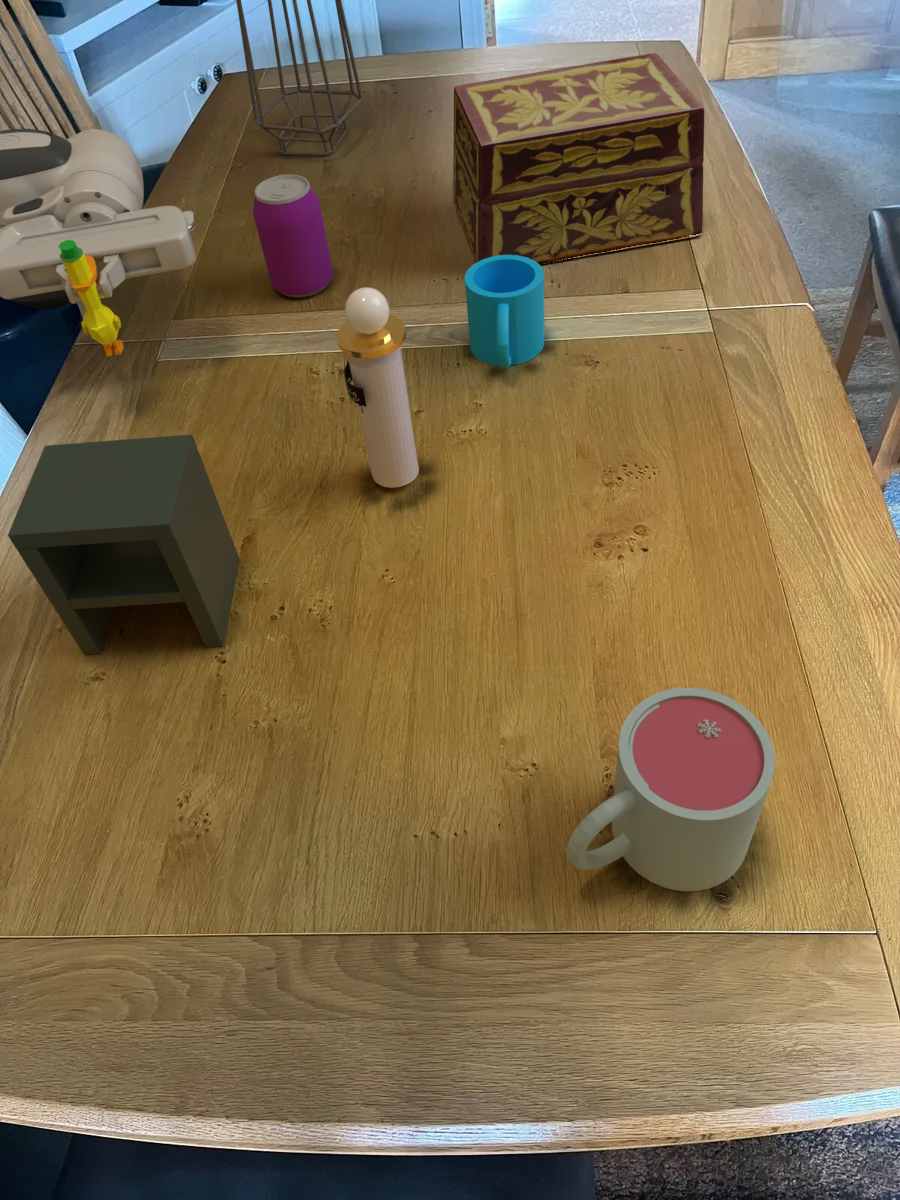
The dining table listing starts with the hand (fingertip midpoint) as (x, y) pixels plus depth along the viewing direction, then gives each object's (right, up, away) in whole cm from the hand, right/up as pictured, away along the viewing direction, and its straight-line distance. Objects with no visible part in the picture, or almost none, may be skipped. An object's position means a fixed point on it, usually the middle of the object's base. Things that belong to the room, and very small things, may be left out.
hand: (88, 294), depth 90 cm
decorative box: (+50, +19, +29) cm, 61 cm away
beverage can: (+17, +9, +25) cm, 31 cm away
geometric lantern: (+15, +39, +50) cm, 65 cm away
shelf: (+10, -30, -8) cm, 32 cm away
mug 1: (+41, -3, +12) cm, 43 cm away
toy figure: (+1, -4, +6) cm, 7 cm away
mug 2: (+49, -46, -26) cm, 72 cm away
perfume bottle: (+30, -18, 0) cm, 34 cm away
